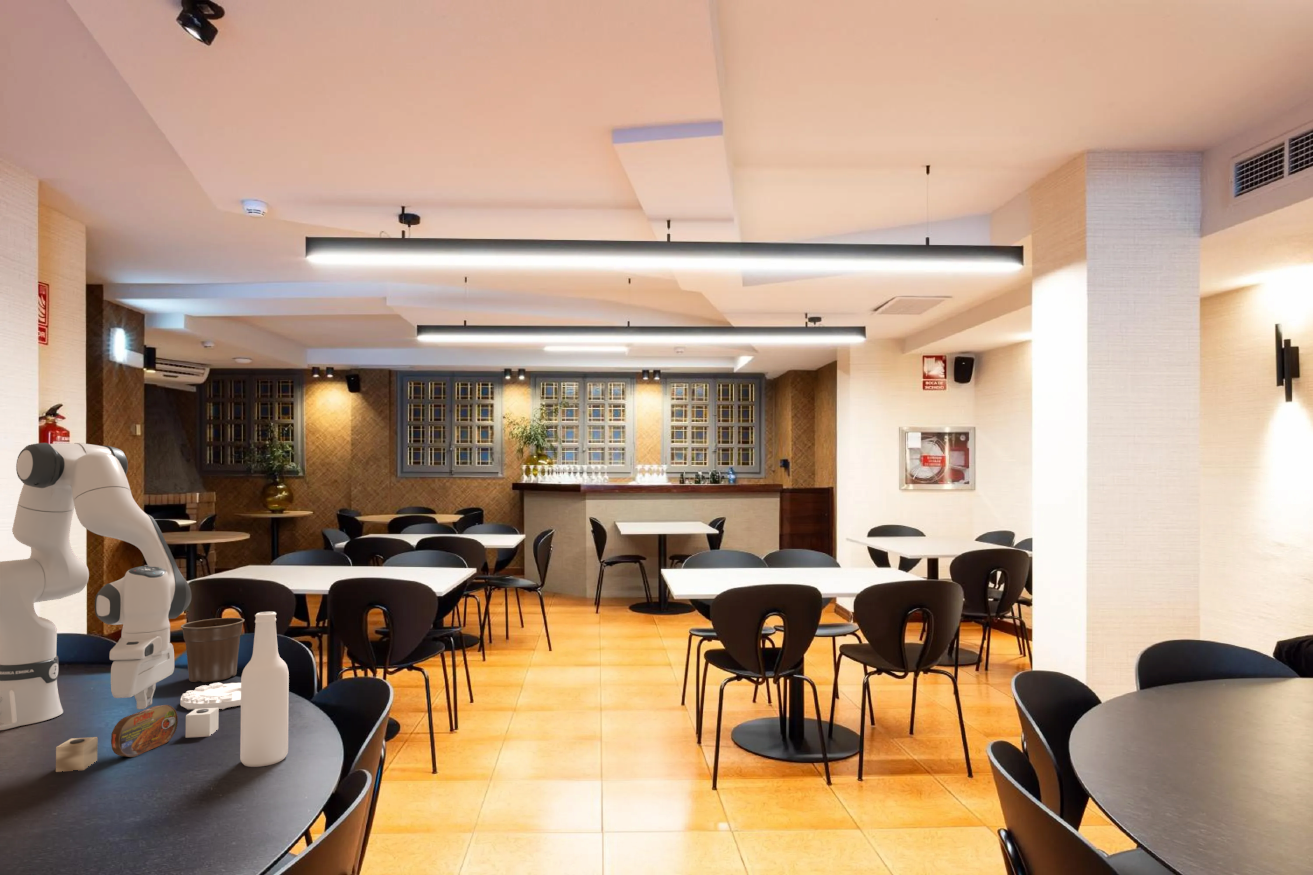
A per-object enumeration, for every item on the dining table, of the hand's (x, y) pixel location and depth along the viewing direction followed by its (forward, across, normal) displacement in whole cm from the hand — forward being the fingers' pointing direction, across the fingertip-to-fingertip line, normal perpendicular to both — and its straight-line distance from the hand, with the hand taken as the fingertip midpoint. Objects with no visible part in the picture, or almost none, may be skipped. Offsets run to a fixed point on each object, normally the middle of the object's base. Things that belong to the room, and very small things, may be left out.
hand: (144, 707), depth 167 cm
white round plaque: (+10, -37, +3) cm, 38 cm away
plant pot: (+10, -62, -10) cm, 64 cm away
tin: (+9, 0, 0) cm, 9 cm away
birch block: (+9, +8, -9) cm, 15 cm away
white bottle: (+9, +12, +28) cm, 32 cm away
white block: (+9, -9, +8) cm, 15 cm away
